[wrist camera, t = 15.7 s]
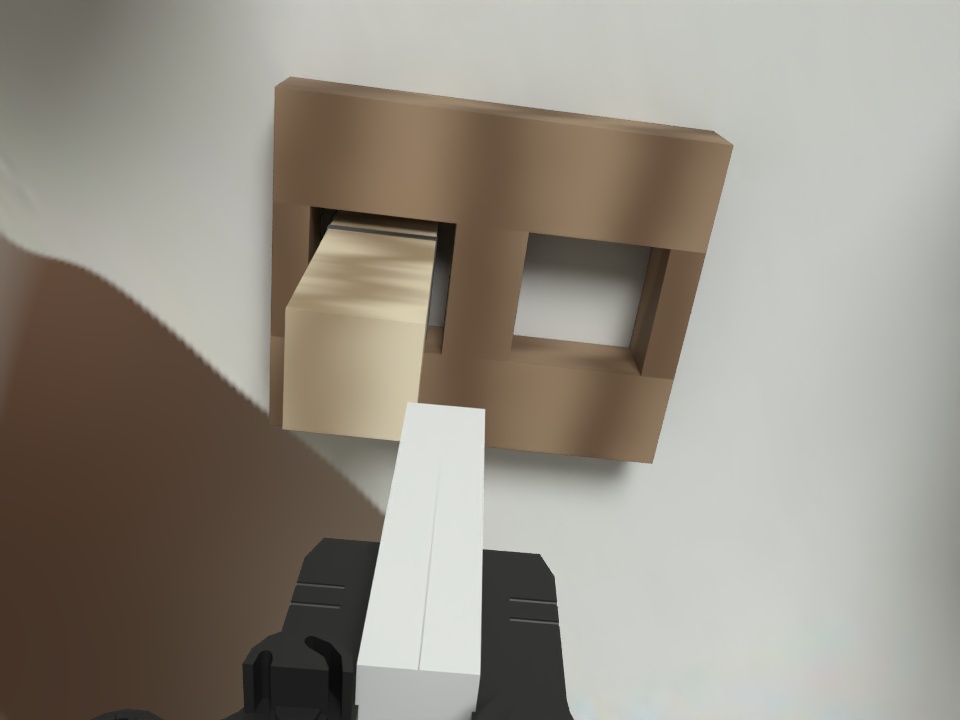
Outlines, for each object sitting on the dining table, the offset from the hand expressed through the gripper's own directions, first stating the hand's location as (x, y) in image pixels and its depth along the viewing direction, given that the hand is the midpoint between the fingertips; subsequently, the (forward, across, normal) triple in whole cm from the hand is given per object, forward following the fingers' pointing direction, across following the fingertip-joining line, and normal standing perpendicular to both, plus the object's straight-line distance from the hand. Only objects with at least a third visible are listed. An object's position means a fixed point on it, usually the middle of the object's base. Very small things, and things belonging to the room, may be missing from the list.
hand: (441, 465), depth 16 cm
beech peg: (+22, +4, +4) cm, 23 cm away
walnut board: (+22, -1, +4) cm, 23 cm away
